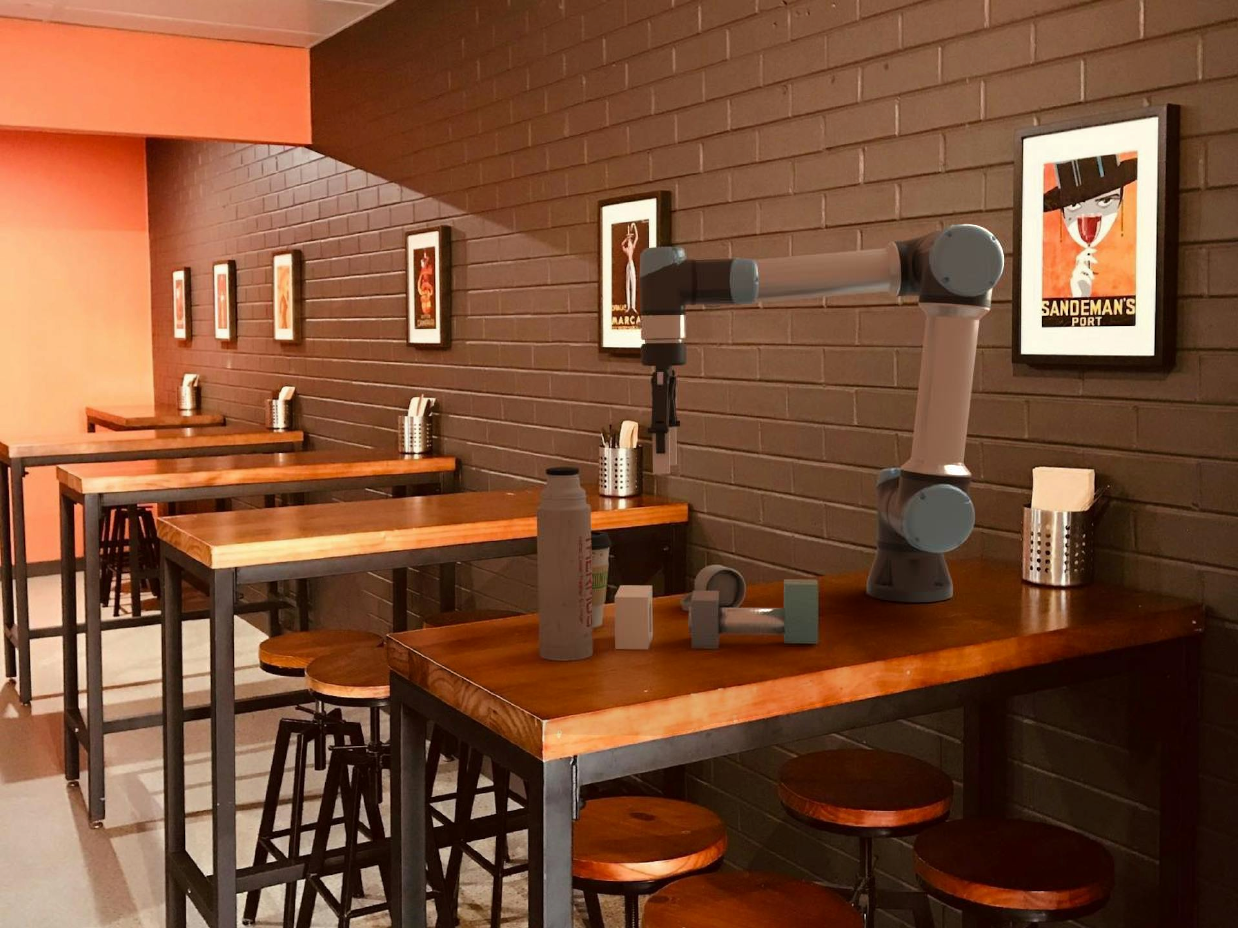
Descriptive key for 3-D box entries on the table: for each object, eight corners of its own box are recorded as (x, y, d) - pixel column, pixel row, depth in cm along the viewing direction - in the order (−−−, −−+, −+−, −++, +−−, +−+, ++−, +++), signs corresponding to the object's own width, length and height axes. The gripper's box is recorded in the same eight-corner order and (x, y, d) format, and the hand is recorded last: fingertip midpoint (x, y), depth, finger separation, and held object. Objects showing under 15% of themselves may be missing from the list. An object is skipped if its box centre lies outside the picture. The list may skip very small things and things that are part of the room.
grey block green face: (816, 637, 196) (816, 579, 195) (818, 643, 192) (818, 584, 191) (689, 635, 198) (689, 578, 197) (688, 641, 194) (688, 583, 193)
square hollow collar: (719, 637, 199) (718, 590, 198) (718, 648, 192) (717, 600, 191) (693, 636, 199) (693, 590, 198) (691, 648, 192) (691, 600, 191)
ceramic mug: (731, 601, 226) (730, 559, 225) (747, 611, 218) (746, 566, 217) (674, 606, 223) (673, 563, 222) (687, 616, 215) (686, 571, 214)
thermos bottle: (603, 651, 191) (600, 466, 188) (573, 663, 184) (570, 471, 181) (559, 645, 195) (556, 464, 192) (528, 656, 188) (524, 468, 185)
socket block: (652, 635, 201) (652, 585, 200) (648, 649, 192) (647, 597, 191) (621, 635, 201) (620, 585, 200) (615, 648, 192) (614, 596, 191)
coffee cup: (569, 633, 203) (567, 540, 201) (543, 621, 211) (542, 532, 210) (623, 626, 207) (622, 535, 206) (596, 615, 216) (595, 527, 214)
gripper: (648, 341, 223) (650, 461, 225) (632, 342, 199) (634, 477, 201) (691, 341, 222) (692, 461, 224) (680, 341, 198) (681, 477, 200)
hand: (665, 469), depth 213 cm, fingers open, 13 cm apart
